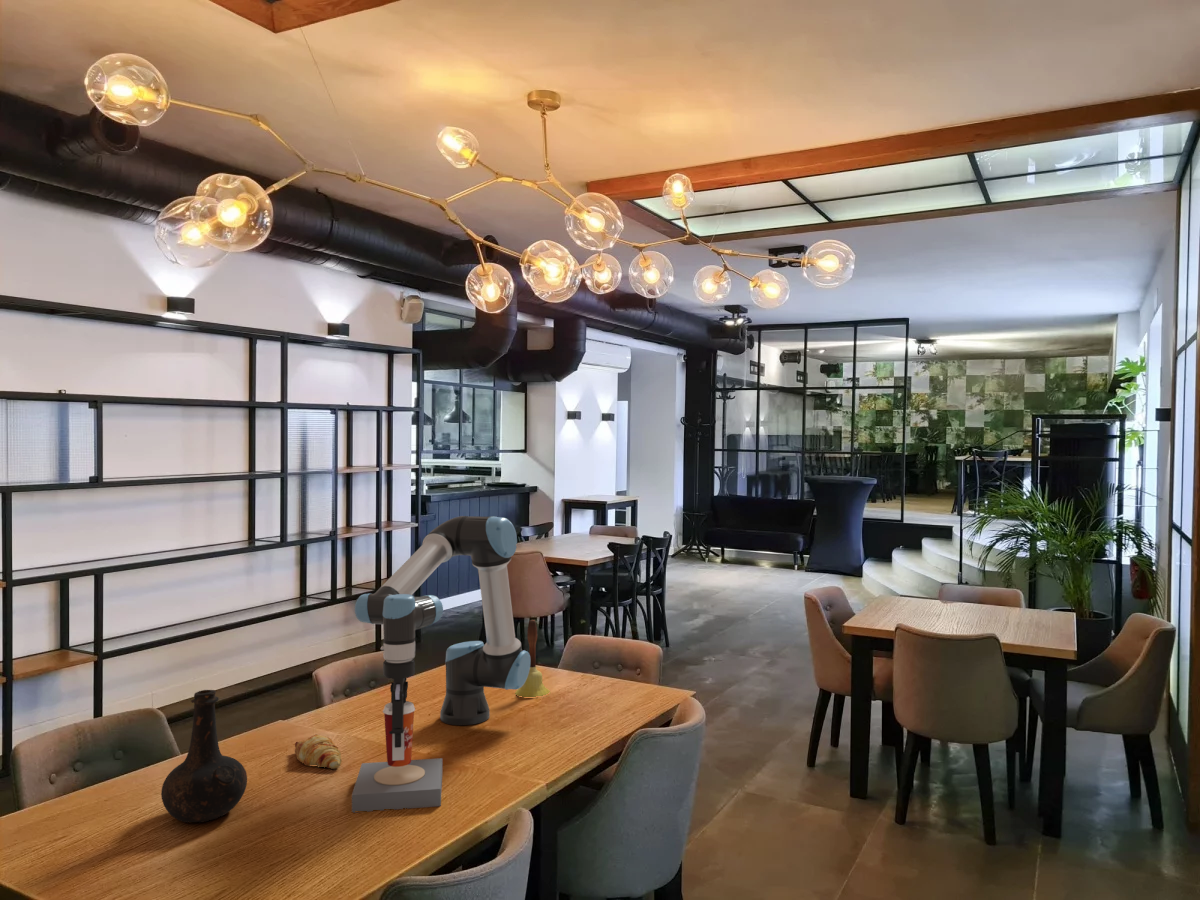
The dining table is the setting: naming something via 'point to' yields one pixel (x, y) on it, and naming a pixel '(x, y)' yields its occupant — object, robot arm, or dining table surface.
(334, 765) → the croissant
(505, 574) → the robot arm
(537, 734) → the dining table surface
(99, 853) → the dining table surface
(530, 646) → the handbell
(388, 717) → the paper cup
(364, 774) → the plinth
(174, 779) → the glass bottle
